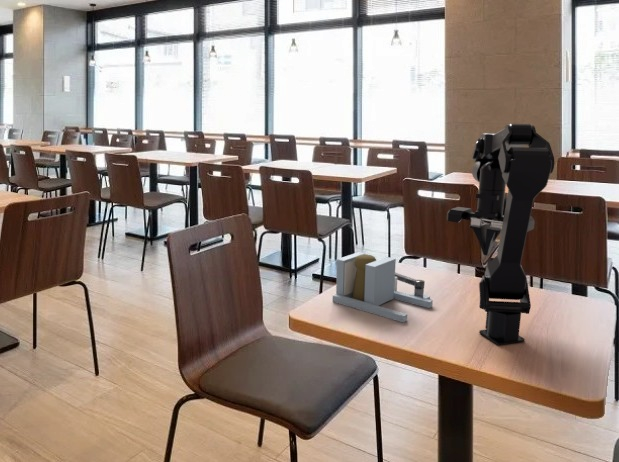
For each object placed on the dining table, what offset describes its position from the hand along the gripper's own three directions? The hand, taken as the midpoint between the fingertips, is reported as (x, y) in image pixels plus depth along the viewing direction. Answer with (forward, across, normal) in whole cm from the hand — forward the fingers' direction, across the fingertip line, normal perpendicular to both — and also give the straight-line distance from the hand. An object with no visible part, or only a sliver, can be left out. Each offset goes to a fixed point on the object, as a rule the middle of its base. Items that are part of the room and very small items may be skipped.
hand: (486, 255), depth 125 cm
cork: (+12, +23, +16) cm, 31 cm away
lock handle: (+9, +18, +6) cm, 21 cm away
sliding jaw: (+12, +18, +16) cm, 27 cm away
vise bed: (+12, +18, +14) cm, 26 cm away
